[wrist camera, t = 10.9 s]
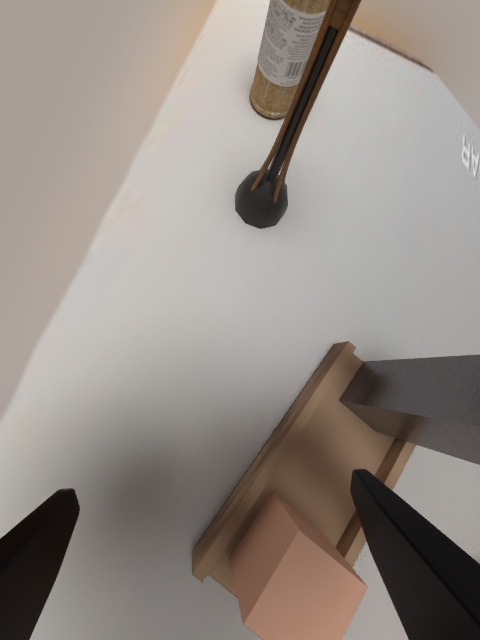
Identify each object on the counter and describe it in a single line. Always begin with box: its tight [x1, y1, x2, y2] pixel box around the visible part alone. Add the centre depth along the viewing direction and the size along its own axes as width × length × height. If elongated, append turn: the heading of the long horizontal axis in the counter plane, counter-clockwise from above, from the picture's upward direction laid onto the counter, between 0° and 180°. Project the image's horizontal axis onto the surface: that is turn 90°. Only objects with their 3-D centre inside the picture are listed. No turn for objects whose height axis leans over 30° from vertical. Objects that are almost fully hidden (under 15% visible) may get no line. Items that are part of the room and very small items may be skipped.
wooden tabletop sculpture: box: [235, 0, 361, 229], centre depth 16 cm, size 6×5×20 cm
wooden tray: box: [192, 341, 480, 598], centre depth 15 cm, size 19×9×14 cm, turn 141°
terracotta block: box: [229, 492, 368, 640], centre depth 17 cm, size 5×5×5 cm
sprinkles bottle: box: [250, 0, 330, 119], centre depth 21 cm, size 5×5×14 cm
